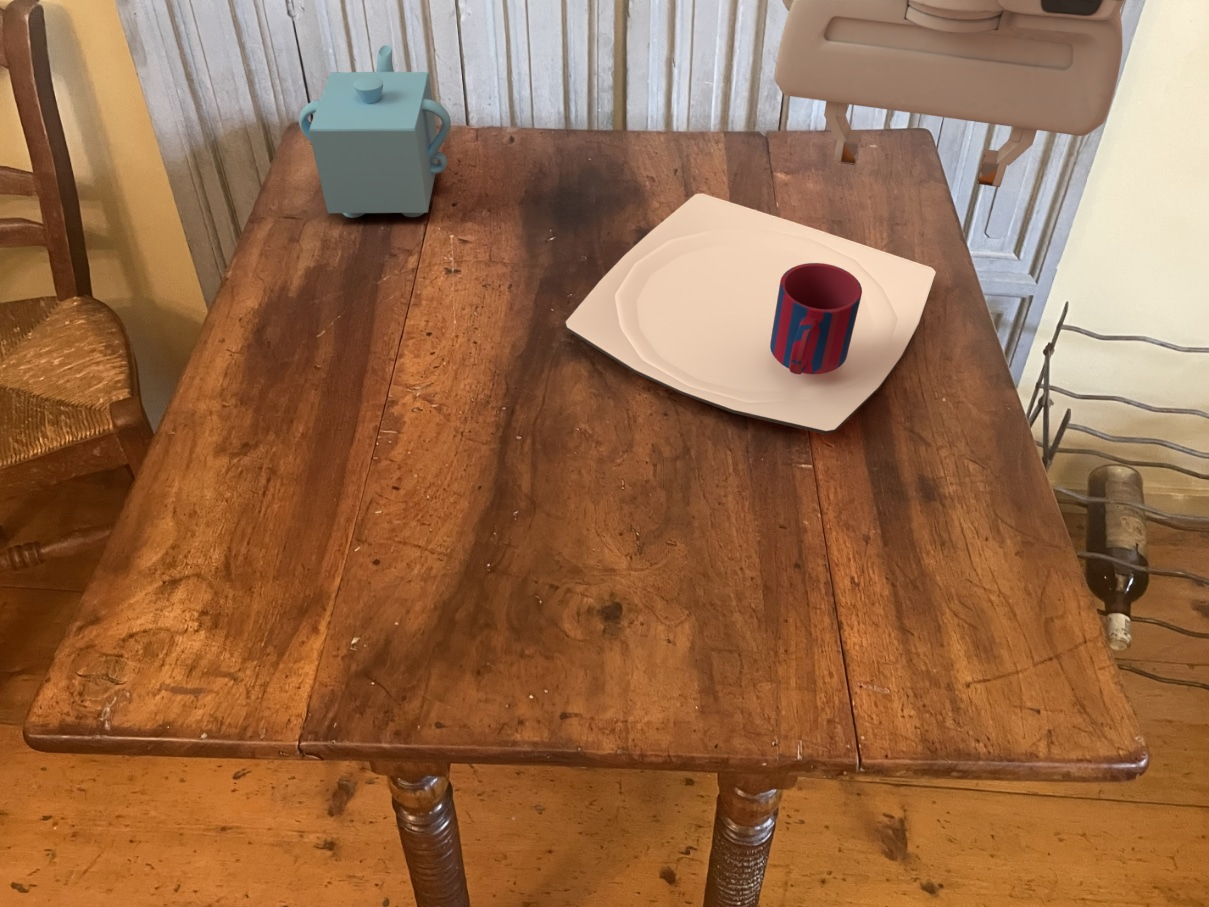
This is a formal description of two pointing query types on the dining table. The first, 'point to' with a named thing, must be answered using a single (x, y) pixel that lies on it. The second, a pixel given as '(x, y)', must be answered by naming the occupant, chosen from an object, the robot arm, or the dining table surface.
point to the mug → (814, 318)
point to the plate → (747, 313)
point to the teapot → (377, 140)
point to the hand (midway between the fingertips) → (915, 170)
